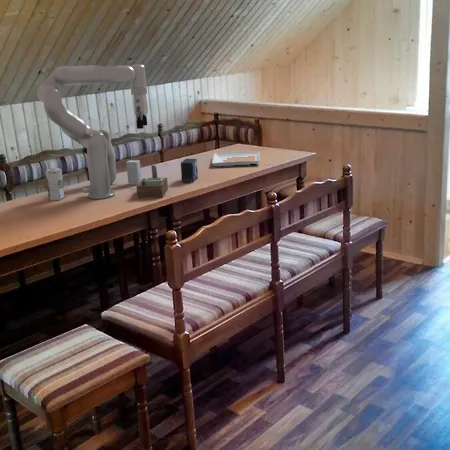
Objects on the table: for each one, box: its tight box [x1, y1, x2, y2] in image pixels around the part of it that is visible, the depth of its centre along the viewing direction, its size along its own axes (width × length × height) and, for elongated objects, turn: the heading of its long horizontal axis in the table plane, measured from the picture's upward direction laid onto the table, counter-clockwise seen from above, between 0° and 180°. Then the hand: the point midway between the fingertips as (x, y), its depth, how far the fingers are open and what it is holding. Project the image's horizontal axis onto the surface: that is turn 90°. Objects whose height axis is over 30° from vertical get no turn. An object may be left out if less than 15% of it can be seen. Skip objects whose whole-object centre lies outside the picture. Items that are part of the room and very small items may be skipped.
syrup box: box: [44, 167, 65, 201], centre depth 299 cm, size 6×6×14 cm
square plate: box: [211, 150, 261, 167], centre depth 361 cm, size 27×27×4 cm
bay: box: [135, 177, 169, 199], centre depth 301 cm, size 16×12×6 cm
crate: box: [144, 164, 165, 186], centre depth 305 cm, size 8×8×11 cm
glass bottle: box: [99, 129, 117, 185], centre depth 321 cm, size 10×10×28 cm
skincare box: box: [125, 159, 143, 186], centre depth 321 cm, size 6×4×12 cm
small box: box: [180, 158, 199, 184], centre depth 323 cm, size 11×6×10 cm, turn 168°
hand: (142, 126), depth 305 cm, fingers open, 9 cm apart
